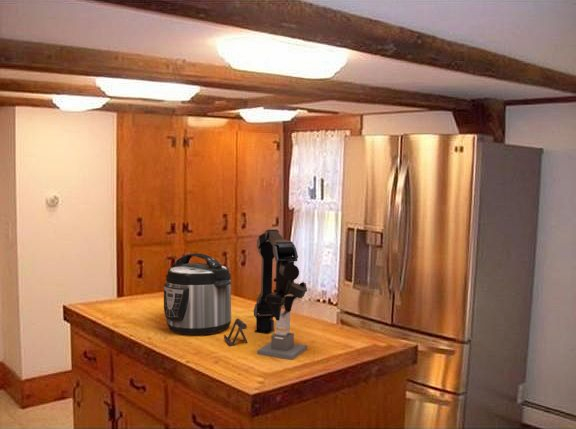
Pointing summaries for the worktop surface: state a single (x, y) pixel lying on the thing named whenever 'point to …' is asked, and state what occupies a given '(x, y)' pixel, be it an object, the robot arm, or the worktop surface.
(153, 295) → the worktop surface
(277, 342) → the grey socket plate
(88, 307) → the worktop surface
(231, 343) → the portable electronic device stand
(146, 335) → the worktop surface
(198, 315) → the pressure cooker
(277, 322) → the steel column
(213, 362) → the worktop surface
